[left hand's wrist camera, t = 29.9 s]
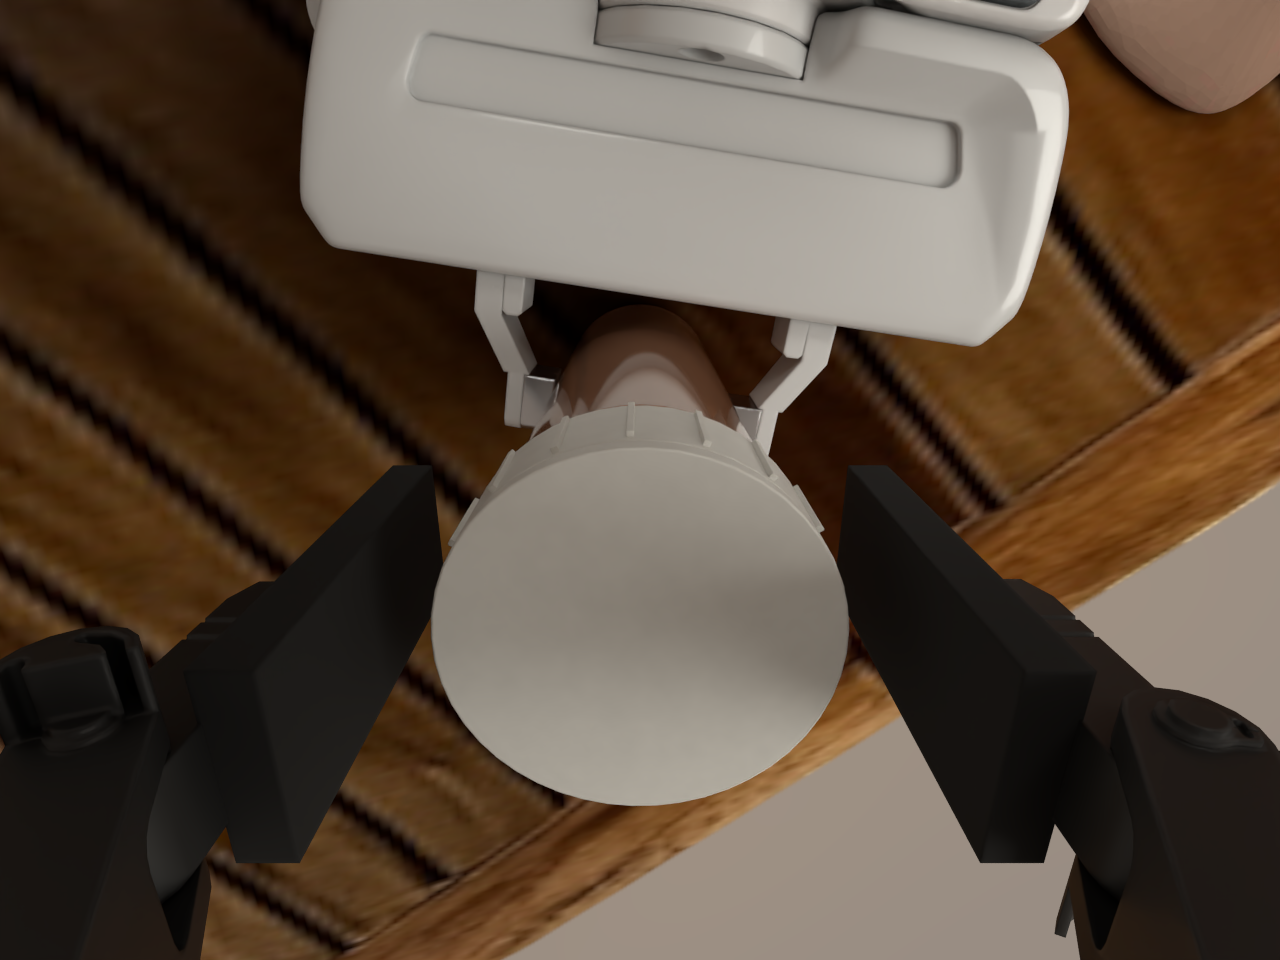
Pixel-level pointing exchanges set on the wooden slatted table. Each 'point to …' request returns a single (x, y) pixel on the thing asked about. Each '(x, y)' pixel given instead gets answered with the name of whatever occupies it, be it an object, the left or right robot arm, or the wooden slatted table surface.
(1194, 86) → the anatomical model
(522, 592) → the lid
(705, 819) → the wooden slatted table surface
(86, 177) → the wooden slatted table surface
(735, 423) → the jar
